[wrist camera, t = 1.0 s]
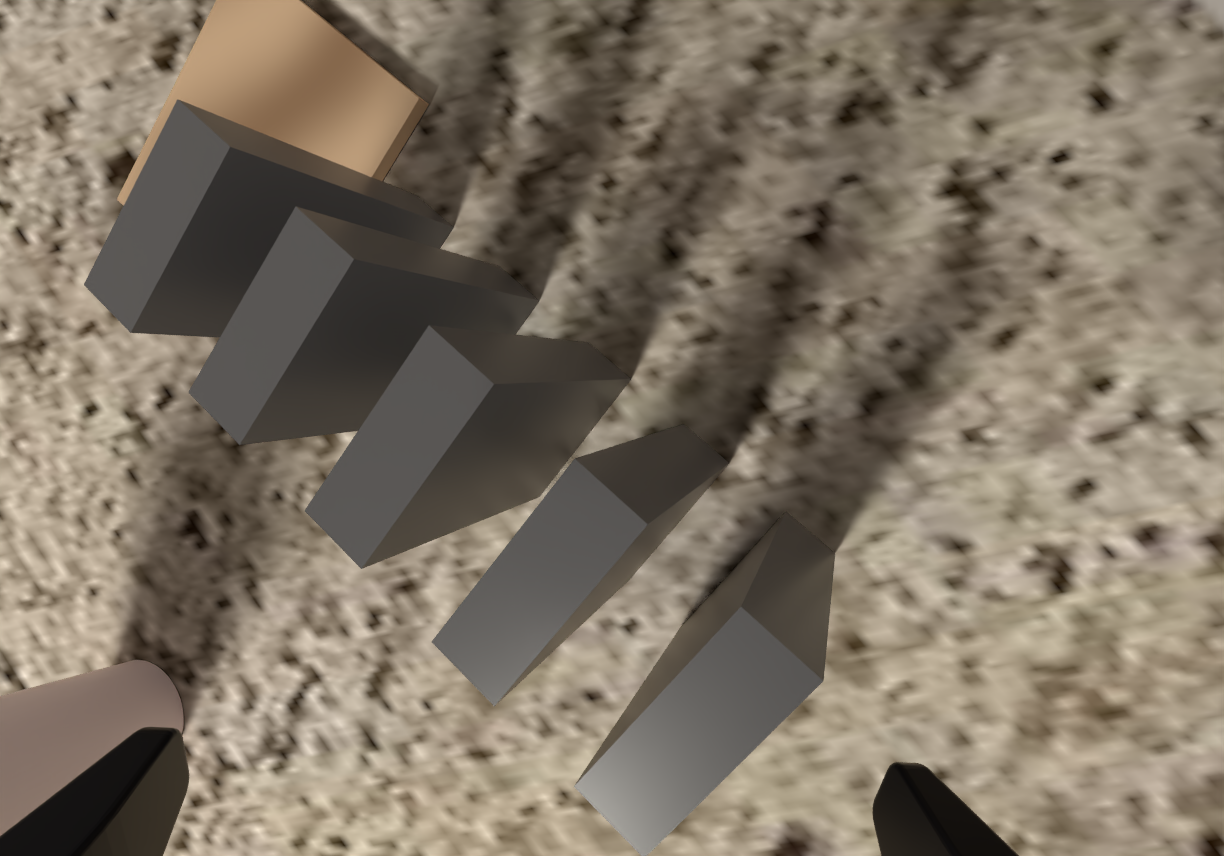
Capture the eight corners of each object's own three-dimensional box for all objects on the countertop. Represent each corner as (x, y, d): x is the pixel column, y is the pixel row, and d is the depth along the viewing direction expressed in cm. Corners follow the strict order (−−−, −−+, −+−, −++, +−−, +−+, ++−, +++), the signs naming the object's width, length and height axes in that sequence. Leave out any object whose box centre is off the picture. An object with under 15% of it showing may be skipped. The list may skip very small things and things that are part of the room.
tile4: (539, 300, 20) (354, 259, 13) (455, 418, 22) (239, 445, 14) (499, 266, 21) (295, 206, 13) (418, 384, 22) (188, 392, 14)
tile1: (834, 553, 18) (823, 681, 11) (724, 669, 20) (644, 858, 12) (786, 511, 19) (741, 606, 11) (680, 627, 20) (574, 786, 12)
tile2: (729, 463, 19) (647, 524, 11) (628, 580, 20) (494, 706, 13) (683, 423, 19) (574, 458, 12) (587, 541, 20) (431, 642, 13)
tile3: (630, 379, 20) (493, 384, 12) (539, 497, 21) (361, 568, 13) (588, 342, 20) (428, 325, 12) (499, 461, 21) (304, 510, 14)
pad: (429, 104, 21) (419, 98, 21) (281, 347, 23) (269, 346, 23) (252, -40, 23) (240, -48, 22) (130, 202, 25) (117, 199, 24)
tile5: (453, 227, 21) (230, 147, 14) (376, 345, 22) (130, 332, 15) (416, 195, 21) (177, 98, 14) (342, 313, 23) (83, 284, 15)
